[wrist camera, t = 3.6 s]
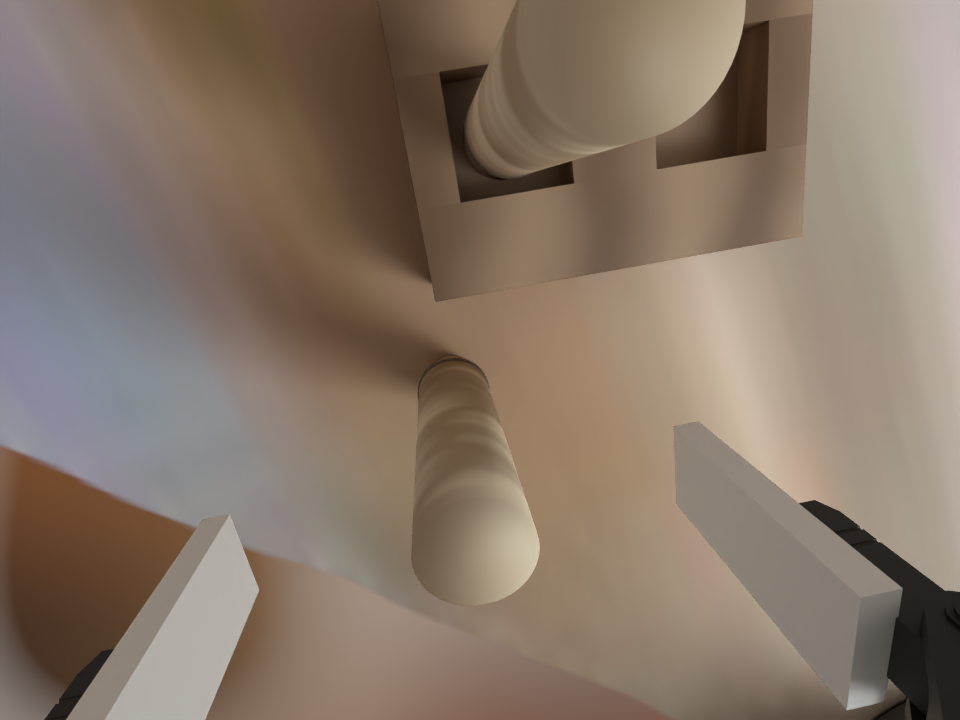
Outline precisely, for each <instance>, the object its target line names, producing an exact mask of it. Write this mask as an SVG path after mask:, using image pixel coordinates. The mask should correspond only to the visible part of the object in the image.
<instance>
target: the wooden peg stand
mask: <svg viewBox="0 0 960 720" xmlns="http://www.w3.org/2000/svg"><path fill="white" fill-rule="evenodd" d="M378 5H379V10H380V15H381V21H382V26H383V31H384V36H385V42H386V47H387V52H388V57H389V62H390V68H391V73H392V78H393V83H394V88H395V94H396V99H397V104H398V109H399V114H400V120H401V125H402V130H403V135H404V140H405V146H406V151H407V156H408V161H409V167H410V172H411V177H412V182H413V187H414V193H415V198H416V203H417V208H418V213H419V219H420V224H421V229H422V234H423V239H424V245H425V250H426V255H427V260H428V265H429V271H430V276H431V281H432V286H433V292H434V297H435V302H438V301H444V300H449V299H455V298H460V297H466V296H471V295H477V294H483V293H488V292H494V291H499V290H505V289H511V288H516V287H522V286H527V285H533V284H539V283H544V282H550V281H555V280H561V279H567V278H572V277H578V276H583V275H589V274H595V273H600V272H606V271H611V270H617V269H622V268H628V267H634V266H639V265H645V264H650V263H656V262H662V261H667V260H673V259H678V258H684V257H690V256H695V255H701V254H706V253H712V252H718V251H723V250H729V249H734V248H740V247H745V246H751V245H757V244H762V243H768V242H773V241H779V240H785V239H790V238H796V237H801V236H802V224H803V203H804V182H805V160H806V139H807V118H808V97H809V76H810V54H811V33H812V12H813V0H378Z"/></svg>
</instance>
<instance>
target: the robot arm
mask: <svg viewBox="0 0 960 720" xmlns="http://www.w3.org/2000/svg"><path fill="white" fill-rule="evenodd" d="M674 451H675V483H676V504H677V505H678V507H679V508H680V509H681V510H682V511H683V513H684V514H685V515H686V516H687V517H688V519H689V520H690V521H691V522H692V524H693V525H694V526H695V527H696V528H697V530H698V531H699V532H700V533H701V534H702V536H703V537H704V538H705V539H706V541H707V542H708V543H709V544H710V545H711V547H712V548H713V549H714V550H715V551H716V553H717V554H718V555H719V556H720V558H721V559H722V560H723V561H724V562H725V564H726V565H727V566H728V567H729V568H730V570H731V571H732V572H733V573H734V574H735V576H736V577H737V578H738V579H739V581H740V582H741V583H742V584H743V585H744V587H745V588H746V589H747V590H748V591H749V593H750V594H751V595H752V596H753V598H754V599H755V600H756V601H757V602H758V604H759V605H760V606H761V607H762V608H763V610H764V611H765V612H766V613H767V615H768V616H769V617H770V618H771V619H772V621H773V622H774V623H775V624H776V625H777V627H778V628H779V629H780V630H781V632H782V633H783V634H784V635H785V636H786V638H787V639H788V640H789V641H790V642H791V644H792V645H793V646H794V647H795V648H796V650H797V651H798V652H799V653H800V655H801V656H802V657H803V658H804V659H805V661H806V662H807V663H808V664H809V665H810V667H811V668H812V669H813V670H814V672H815V673H816V674H817V675H818V676H819V678H820V679H821V680H822V681H823V682H824V684H825V685H826V686H827V687H828V689H829V690H830V691H831V692H832V693H833V695H834V696H835V697H836V698H837V699H838V701H839V702H840V703H841V704H842V706H843V707H844V708H845V709H846V710H851V709H856V708H860V707H864V706H868V705H873V704H877V703H881V702H885V697H886V690H887V684H888V678H889V679H890V680H891V681H892V682H893V683H894V684H895V685H896V686H897V687H898V688H899V689H900V691H901V692H902V693H903V694H904V695H905V696H906V697H907V701H906V703H904V704H901V705H900V706H898V707H896V708H894V709H892V710H891V711H889V712H887V713H886V714H884V715H883V716H881V717H880V718H879V719H877V720H960V592H955V591H945V590H943V589H942V588H940V587H939V586H938V585H936V584H935V583H934V582H933V581H931V580H930V579H929V578H927V577H926V576H925V575H923V574H922V573H921V572H919V571H918V570H917V569H915V568H914V567H913V566H911V565H910V564H909V563H907V562H906V561H905V560H903V559H902V558H901V557H899V556H898V555H897V554H895V553H894V552H893V551H891V550H890V549H889V548H887V547H886V546H885V545H884V544H882V543H881V542H879V543H878V542H877V541H876V538H874V537H873V536H872V535H870V534H869V533H868V532H866V531H865V530H864V529H863V530H861V529H860V526H858V525H857V524H856V523H854V522H853V521H852V520H850V519H849V518H848V517H846V516H845V515H844V514H842V513H841V512H840V511H838V510H835V509H833V508H831V507H829V506H826V505H824V504H822V503H820V502H817V501H815V500H813V501H808V502H803V503H798V502H796V501H795V500H794V499H793V498H791V497H790V496H789V495H788V494H787V493H785V492H784V491H783V490H782V489H780V488H779V487H778V486H777V485H776V484H774V483H773V482H772V481H771V480H769V479H768V478H767V477H766V476H765V475H763V474H762V473H761V472H760V471H758V470H757V469H756V468H755V467H753V466H752V465H751V464H750V463H749V462H747V461H746V460H745V459H744V458H742V457H741V456H740V455H739V454H738V453H736V452H735V451H734V450H733V449H731V448H730V447H729V446H728V445H727V444H725V443H724V442H723V441H722V440H720V439H719V438H718V437H717V436H716V435H714V434H713V433H712V432H711V431H709V430H708V429H707V428H706V427H704V426H703V425H702V424H701V423H700V422H693V423H688V424H683V425H678V426H674ZM258 592H259V588H258V586H257V583H256V581H255V578H254V576H253V573H252V571H251V568H250V565H249V563H248V560H247V558H246V555H245V552H244V550H243V547H242V545H241V542H240V540H239V537H238V534H237V532H236V529H235V527H234V524H233V522H232V519H231V517H230V515H225V516H220V517H215V518H210V519H205V520H202V521H201V523H200V524H199V526H198V527H197V529H196V530H195V532H194V533H193V535H192V536H191V538H190V539H189V540H188V542H187V543H186V545H185V546H184V548H183V549H182V551H181V552H180V554H179V555H178V557H177V558H176V560H175V561H174V562H173V564H172V565H171V567H170V568H169V570H168V571H167V573H166V574H165V576H164V577H163V578H162V580H161V581H160V583H159V584H158V586H157V587H156V589H155V590H154V592H153V593H152V595H151V596H150V598H149V599H148V600H147V602H146V603H145V605H144V606H143V608H142V609H141V611H140V612H139V614H138V615H137V616H136V618H135V619H134V621H133V622H132V624H131V625H130V627H129V629H128V630H127V631H126V633H125V634H124V636H123V637H122V638H121V640H120V641H119V643H118V644H117V646H116V647H115V649H111V650H106V651H102V652H101V653H100V654H99V655H98V656H97V657H96V658H94V659H93V660H92V661H91V662H90V663H89V664H88V665H87V666H86V667H85V668H84V669H83V670H82V671H81V672H79V673H78V674H77V676H76V677H75V678H74V680H73V681H72V683H71V684H70V685H69V687H68V688H67V690H66V691H65V692H64V694H63V695H62V696H61V698H60V699H59V704H56V705H55V706H54V707H53V709H52V710H51V711H50V713H49V714H48V716H47V717H46V718H45V720H205V719H206V716H207V714H208V712H209V709H210V707H211V704H212V702H213V700H214V697H215V695H216V692H217V690H218V688H219V685H220V683H221V681H222V678H223V676H224V673H225V671H226V669H227V666H228V664H229V661H230V659H231V657H232V654H233V652H234V649H235V647H236V644H237V642H238V640H239V637H240V635H241V633H242V630H243V628H244V625H245V623H246V621H247V618H248V616H249V613H250V611H251V608H252V606H253V604H254V601H255V599H256V596H257V594H258Z"/></svg>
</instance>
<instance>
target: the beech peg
mask: <svg viewBox="0 0 960 720" xmlns="http://www.w3.org/2000/svg"><path fill="white" fill-rule="evenodd" d="M418 400H419V402H418V424H417V446H416V468H415V490H414V512H413V534H412V565H413V569H414V572H415V574H416V576H417V578H418V580H419V581H420V583H421V584H422V586H423V587H424V588H425V589H426V590H427V591H429V592H430V593H431V594H433V595H434V596H436V597H437V598H439V599H441V600H444V601H446V602H449V603H453V604H457V605H465V606H476V605H484V604H489V603H492V602H496V601H498V600H501V599H503V598H505V597H507V596H509V595H510V594H512V593H514V592H515V591H516V590H518V589H519V588H520V587H521V586H522V585H523V584H524V583H525V582H526V581H527V580H528V578H529V577H530V576H531V574H532V573H533V571H534V569H535V567H536V564H537V561H538V557H539V549H540V546H539V538H538V534H537V531H536V528H535V525H534V522H533V519H532V516H531V513H530V510H529V507H528V504H527V501H526V498H525V495H524V492H523V489H522V486H521V483H520V480H519V477H518V474H517V471H516V468H515V465H514V462H513V459H512V456H511V453H510V450H509V447H508V444H507V441H506V438H505V435H504V432H503V429H502V426H501V423H500V420H499V417H498V414H497V411H496V408H495V405H494V402H493V399H492V396H491V393H490V390H489V384H488V381H487V378H486V376H485V374H484V373H483V371H482V370H481V369H480V368H479V367H478V366H477V365H476V364H474V363H473V362H471V361H468V360H466V359H463V358H461V357H459V356H445V357H442V358H440V359H439V360H437V361H436V362H435V363H434V364H433V365H431V366H430V367H429V368H428V369H427V370H426V371H425V372H424V374H423V375H422V377H421V379H420V382H419V386H418Z"/></svg>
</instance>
